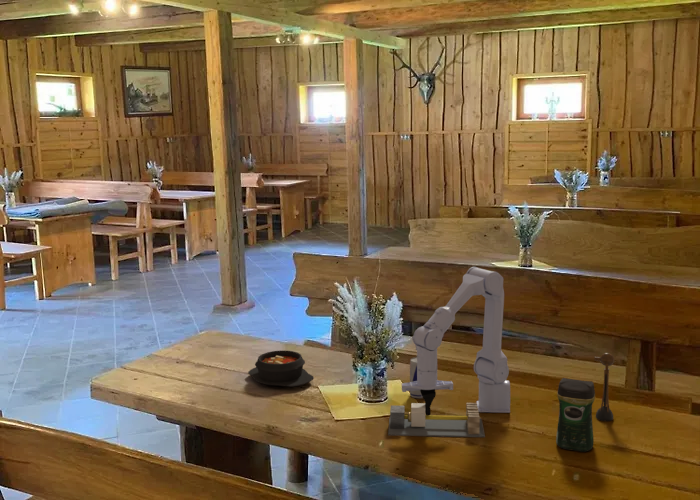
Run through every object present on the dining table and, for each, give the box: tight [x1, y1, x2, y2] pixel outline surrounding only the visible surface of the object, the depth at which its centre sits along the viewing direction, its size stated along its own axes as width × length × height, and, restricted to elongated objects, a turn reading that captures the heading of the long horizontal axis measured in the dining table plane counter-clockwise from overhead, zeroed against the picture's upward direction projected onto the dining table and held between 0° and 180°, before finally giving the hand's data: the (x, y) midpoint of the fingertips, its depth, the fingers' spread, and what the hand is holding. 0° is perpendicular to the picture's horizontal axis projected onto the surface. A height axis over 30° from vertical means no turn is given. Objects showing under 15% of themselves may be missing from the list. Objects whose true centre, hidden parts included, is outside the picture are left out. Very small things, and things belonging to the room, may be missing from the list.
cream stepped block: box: [410, 402, 426, 427], centre depth 212 cm, size 4×4×6 cm
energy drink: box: [409, 356, 423, 399], centre depth 235 cm, size 5×5×12 cm
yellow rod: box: [404, 414, 468, 420], centre depth 211 cm, size 22×1×1 cm, turn 85°
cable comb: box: [465, 402, 481, 434], centre depth 210 cm, size 3×10×5 cm, turn 175°
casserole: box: [247, 350, 315, 388], centre depth 251 cm, size 25×19×8 cm
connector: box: [389, 405, 411, 429], centre depth 212 cm, size 6×5×5 cm
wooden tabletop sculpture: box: [594, 352, 615, 422], centre depth 214 cm, size 6×5×20 cm
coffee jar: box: [555, 377, 596, 453], centre depth 197 cm, size 10×8×19 cm
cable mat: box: [387, 417, 486, 438], centre depth 212 cm, size 27×12×1 cm, turn 85°
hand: (427, 413), depth 211 cm, fingers closed, pressing on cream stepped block
